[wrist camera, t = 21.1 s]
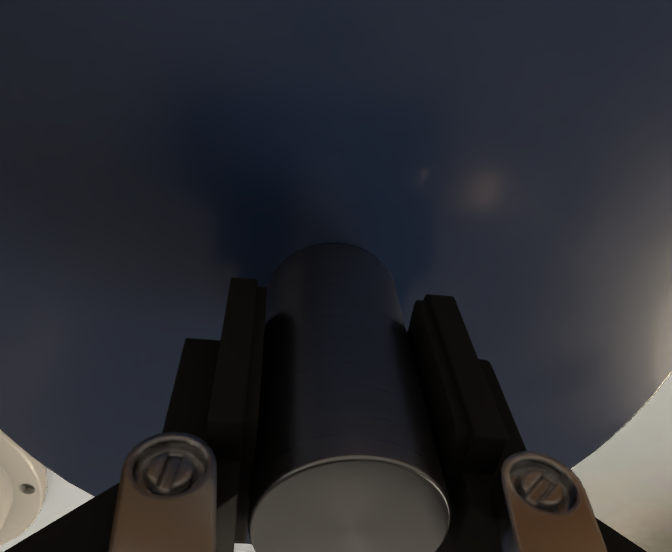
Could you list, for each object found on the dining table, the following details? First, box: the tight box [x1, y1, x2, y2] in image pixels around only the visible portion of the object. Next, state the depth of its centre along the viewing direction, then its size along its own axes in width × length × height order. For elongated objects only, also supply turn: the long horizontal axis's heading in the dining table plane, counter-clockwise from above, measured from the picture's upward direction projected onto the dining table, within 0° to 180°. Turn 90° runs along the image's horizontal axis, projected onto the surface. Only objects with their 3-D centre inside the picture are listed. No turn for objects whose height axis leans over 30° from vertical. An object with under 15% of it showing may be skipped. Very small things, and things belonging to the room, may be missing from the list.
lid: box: [0, 0, 672, 552], centre depth 12 cm, size 18×18×7 cm
